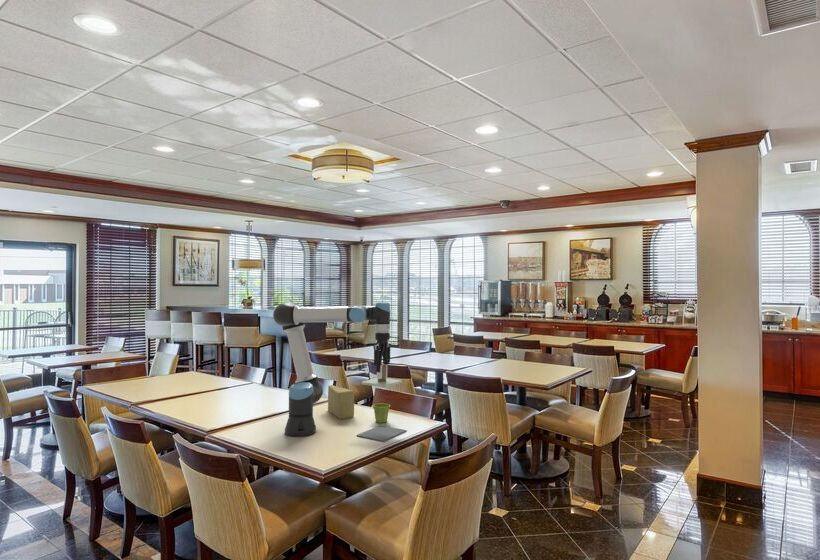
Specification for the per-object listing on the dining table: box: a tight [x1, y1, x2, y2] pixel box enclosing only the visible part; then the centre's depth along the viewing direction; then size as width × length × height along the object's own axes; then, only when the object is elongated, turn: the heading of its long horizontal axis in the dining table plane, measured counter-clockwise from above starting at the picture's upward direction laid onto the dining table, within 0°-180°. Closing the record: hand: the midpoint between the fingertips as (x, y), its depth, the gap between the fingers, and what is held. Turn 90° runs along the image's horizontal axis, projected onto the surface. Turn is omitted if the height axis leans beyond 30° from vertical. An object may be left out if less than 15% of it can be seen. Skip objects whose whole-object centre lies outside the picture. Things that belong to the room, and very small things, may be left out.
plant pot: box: [372, 403, 391, 424], centre depth 254 cm, size 9×9×9 cm
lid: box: [361, 364, 403, 389], centre depth 243 cm, size 15×15×9 cm
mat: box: [356, 424, 408, 443], centre depth 232 cm, size 20×16×1 cm
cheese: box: [327, 384, 355, 420], centre depth 269 cm, size 22×10×15 cm, turn 36°
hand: (381, 377), depth 243 cm, fingers closed on lid, 4 cm apart
